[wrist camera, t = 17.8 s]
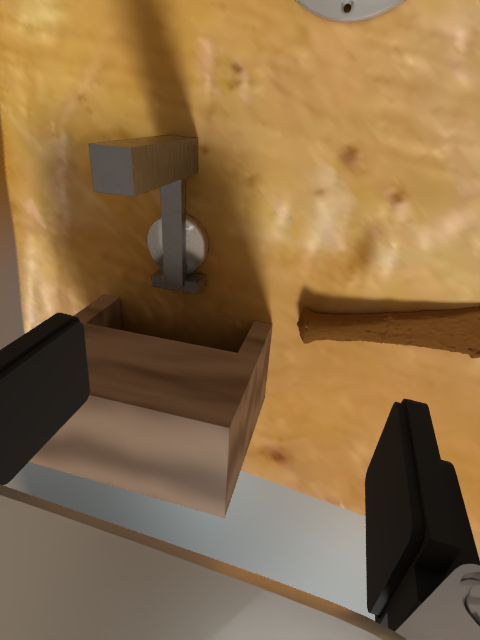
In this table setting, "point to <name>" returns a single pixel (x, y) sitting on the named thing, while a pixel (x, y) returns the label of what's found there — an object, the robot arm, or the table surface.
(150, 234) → the steel token
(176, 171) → the hoe
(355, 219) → the table surface
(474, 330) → the primitive tool
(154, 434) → the wooden bridge block
